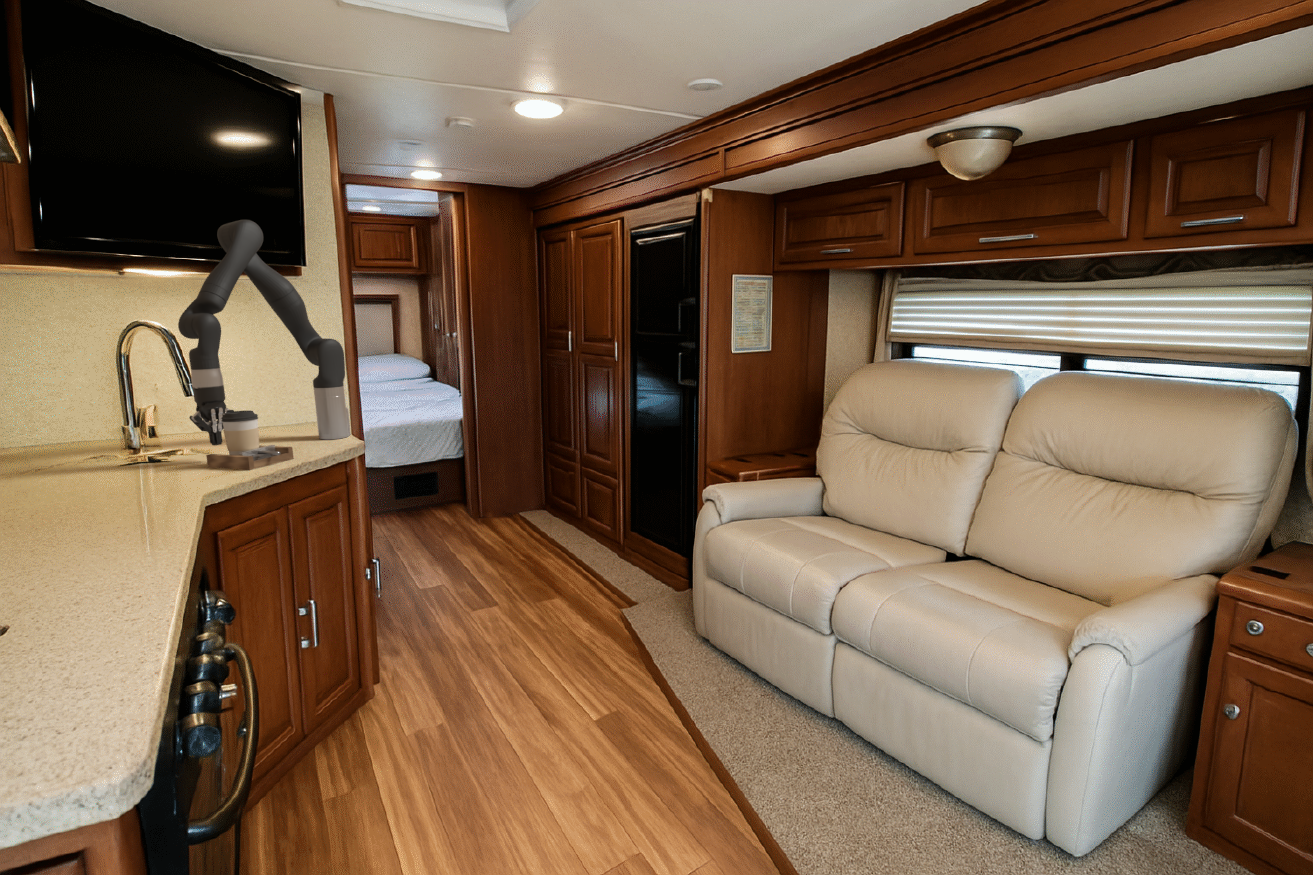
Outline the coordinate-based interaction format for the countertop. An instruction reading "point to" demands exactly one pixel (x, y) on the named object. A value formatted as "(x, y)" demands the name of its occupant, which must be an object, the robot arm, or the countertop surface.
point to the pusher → (261, 452)
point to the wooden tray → (248, 460)
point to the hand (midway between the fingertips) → (216, 444)
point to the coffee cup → (241, 431)
